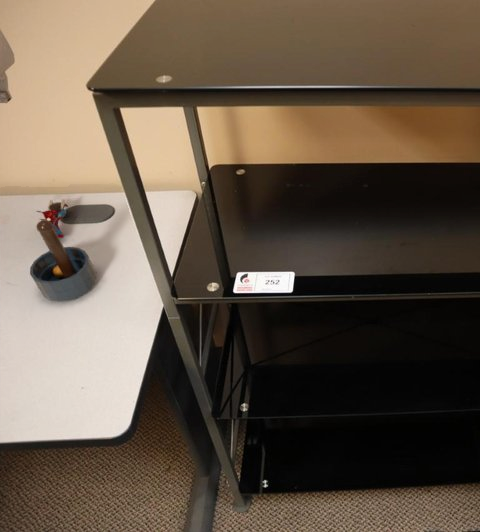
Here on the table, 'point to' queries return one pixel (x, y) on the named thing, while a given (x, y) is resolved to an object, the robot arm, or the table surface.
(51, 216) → the hoverbike
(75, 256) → the bowl
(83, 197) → the table surface
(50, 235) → the stick
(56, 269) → the bead
